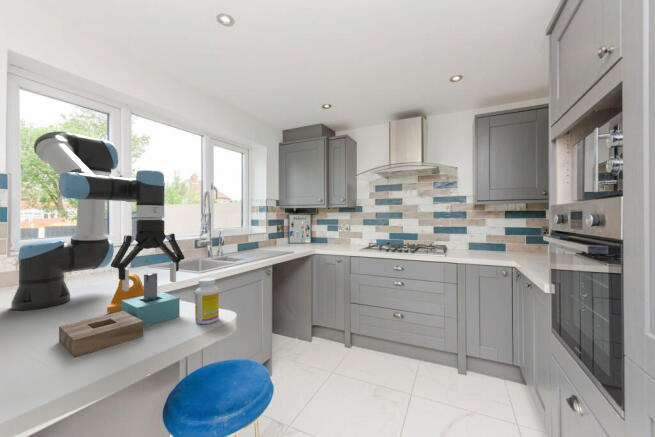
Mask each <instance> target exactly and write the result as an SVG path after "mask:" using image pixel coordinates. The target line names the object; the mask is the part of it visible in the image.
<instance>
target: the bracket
mask: <svg viewBox="0 0 655 437" xmlns="http://www.w3.org/2000/svg"><path fill="white" fill-rule="evenodd" d="M129 281H131V282H133V284H131V285H130V284H129V291H124V290H122V280H119V281H118V286H117V289H116V290H115V293H114V295H113V297H112V300H111V302H110V303H109V304H108V305H107V307H106V312H107V314H112V313H117V312H121V300H126V299H131V298H136V297H141V296H144V283H143V282H142V281H141V278H140V276H139V275H137V274H136V273H129Z"/></svg>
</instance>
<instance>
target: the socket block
mask: <svg viewBox="0 0 655 437" xmlns="http://www.w3.org/2000/svg"><path fill="white" fill-rule="evenodd" d="M143 336H144V327H143V321H142V320H140V319H138V318H137V317H135V316H133V315H131V314H129V313H127V312H125V311H121V312H117V313H116V312H112V313H107V314H105V315H100V316H97V317H92V318H87V319H84V320H79V321H75V322H74V321H73V322H70V323H67V324H61V325H59V326H58V342H59V343H60V344H61V345H62V346H63V347H64V349H66V351H67V352H68V353H70V355H71V356H72V357H73V358H77V357H79V356H83V355H87V354H89V353H92V352H97V351H99V350H102V349H105V348H109V347H111V346H116V345H118V344H122V343H125V342H128V341H131V340H134V339H137V338H141V337H143Z"/></svg>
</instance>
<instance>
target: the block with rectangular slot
mask: <svg viewBox="0 0 655 437" xmlns="http://www.w3.org/2000/svg"><path fill="white" fill-rule="evenodd" d="M121 311H125V312H127V313H129V314H131V315H133V316H135V317H137V318H138V319H140V320H142V321H143V328H145V327H147V326H150V325H154V324H156V323H157V324H158V323H161V322H165V321H168V320H172V319H175V318H178V317H177V316H179V317H180V314H181V310H180V297H179V296H176V295H173V294H169V293H166V292H163V291H160V292H157V300H155V301H150V302H146V303H145V302H144V296H141V297H136V298H131V299H126V300H121Z"/></svg>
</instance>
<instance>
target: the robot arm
mask: <svg viewBox="0 0 655 437" xmlns="http://www.w3.org/2000/svg"><path fill="white" fill-rule="evenodd" d="M33 150H34V153H35V154H36V156H37V157H38V158H39V160H41V161H42V162H43V163H46V164H48V165H49V166H50V167H51V168H52V170H54V172H55V173H56V174H57V175H58V177H59V179H58V190H59V194H60V196H62V197H63V198H65V199H74V200H77V210H76V211H77V212H76V232H75V234H74V235H72V236H71V237H70V242H65V240H64V239H59V238H58V239H51V240H50V239H49V240H43V241H42V240H41V241H36V242H35V241H34V242H29V243H25V244H23V245H21V246H20V247H19V249H18V257H17V260H18V287H17V289H16V292H15V294H14V295H13V298H12V300H11V304H10V306H11V310H13V311H27V310H29V311H30V310H38V309H44V308H50V307H53V306H58V305H62V304H64V303H68V302H69V301H70V300H71V291H70V290H69V288H68V286H67V283H66V281H65V274H66V273H72V272H81V271H87V270H97V269H103V268H106V267H107V266H108V265H110V267H111V268H114V269H118V280H119V281H120V280H122V290H124V291H129V285H130V279H129V274H130V272H129V271H130V269H129V268H127V267H128V266H129V265H130V263H131V262H132V261H133V260H134V259H135V258H136V257H137V256H138V255H139V254H140V252H141V251H143V250H144V249H145V250H149V249H158V248H159V249H160V250H161V251H162V252H163V253H164V254H165V255H166V256H167V257H168V258H169V259H170V260H171V261H170V262H169V282H171V283H177V272H179V269H180V268H179V264H180V262H181V261H182V260H185V256H184V254H183V252H182V249H181V248H180V246H179V244H178V242H177V240H176V235H175V233H172V232H171V233H170V232H169V233H167V234H165V220H164V218H165V196H166V195H165V191H166V190H165V186H166V183H165V175H164V173H163V172H161V171H159V170H153V169H139V170H137V171H136V175H135V178H128V177H126V178H125V177H119V176H116V177H115V176H109V175H111V174H112V170H113V171H114V170H116V169H117V167H118V164H119V160H120V159H119V153H118V149H117V148H116V146H115V144H114V143H113V142H111V141H109V140H107V139H106V140H105V139H103V138H102V139H101V138H98V137H91V136H87V135H83V134H78V133H71V132H68V131H67V132H66V131H50V132H47V133H44V134H42V135H39V137H37V139H35V141H34V144H33ZM106 201H112V202H113V201H115V202H116V201H117V202H127V203H136V204H135V205H136V215H135V216H136V218H137V219H138V220H137V221H136V222H135V223H136V226H135V227H136V231H135V232H136V234H135V235H128V234H126V235H124V236H123V242H122V243H121V246H120V248H119V249H118V252H116V255H115V257H114V254H115V252H114V251H115V248H114V243H113V242H112V241H111V240H110V239H109V236H108V235H106V234H105V232H104V231H105V213H106V212H105V211H106ZM165 240H167V241H168V243H169V244H170V247H171V248H172V250H173V252H172V251H171V249H170V248H169V247H168V246H167V244H166V243H165V242H164V241H165ZM134 241H135V242H136V244H135V246H133V249H132V250H131V251H129V253H128V254H127V252H128V249H129V248H130V247H131V244H132V243H134ZM126 254H127V255H126ZM113 257H114V258H113ZM110 263H111V264H110Z"/></svg>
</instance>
